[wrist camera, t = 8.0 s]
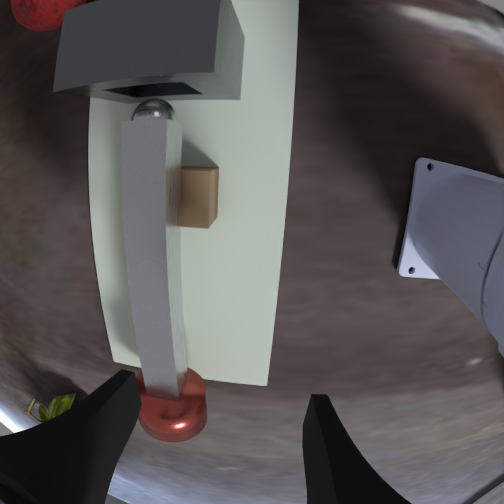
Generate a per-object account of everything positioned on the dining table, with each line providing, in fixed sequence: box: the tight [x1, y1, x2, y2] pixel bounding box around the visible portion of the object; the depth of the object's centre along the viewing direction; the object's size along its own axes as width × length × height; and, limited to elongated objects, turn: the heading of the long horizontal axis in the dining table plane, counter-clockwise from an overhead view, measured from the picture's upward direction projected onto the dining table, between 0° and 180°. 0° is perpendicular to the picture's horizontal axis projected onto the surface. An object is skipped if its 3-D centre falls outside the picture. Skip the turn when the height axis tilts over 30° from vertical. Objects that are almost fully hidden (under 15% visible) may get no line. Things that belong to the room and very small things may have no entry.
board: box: [88, 0, 299, 386], centre depth 19 cm, size 13×27×1 cm, turn 177°
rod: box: [121, 99, 207, 442], centre depth 16 cm, size 5×21×5 cm, turn 177°
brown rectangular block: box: [180, 166, 219, 229], centre depth 17 cm, size 5×3×2 cm, turn 87°
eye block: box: [53, 0, 245, 104], centre depth 12 cm, size 7×4×7 cm, turn 87°
